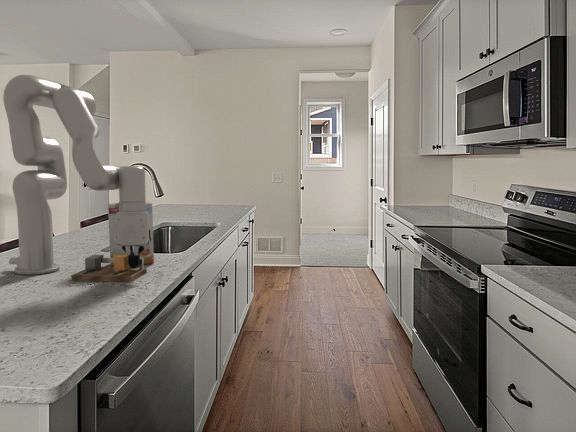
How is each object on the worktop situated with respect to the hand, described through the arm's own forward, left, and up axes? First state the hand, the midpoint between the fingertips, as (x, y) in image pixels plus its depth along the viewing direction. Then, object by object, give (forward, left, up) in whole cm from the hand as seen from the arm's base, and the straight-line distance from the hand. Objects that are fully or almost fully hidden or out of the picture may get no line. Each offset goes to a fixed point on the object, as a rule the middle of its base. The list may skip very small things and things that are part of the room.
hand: (134, 267), depth 146 cm
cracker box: (-8, +18, -3) cm, 19 cm away
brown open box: (-7, -1, -3) cm, 8 cm away
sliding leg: (-4, -1, -1) cm, 4 cm away
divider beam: (-7, -1, -1) cm, 7 cm away
